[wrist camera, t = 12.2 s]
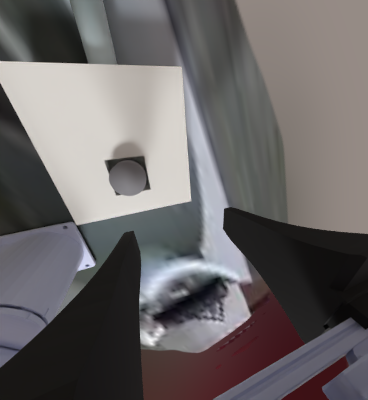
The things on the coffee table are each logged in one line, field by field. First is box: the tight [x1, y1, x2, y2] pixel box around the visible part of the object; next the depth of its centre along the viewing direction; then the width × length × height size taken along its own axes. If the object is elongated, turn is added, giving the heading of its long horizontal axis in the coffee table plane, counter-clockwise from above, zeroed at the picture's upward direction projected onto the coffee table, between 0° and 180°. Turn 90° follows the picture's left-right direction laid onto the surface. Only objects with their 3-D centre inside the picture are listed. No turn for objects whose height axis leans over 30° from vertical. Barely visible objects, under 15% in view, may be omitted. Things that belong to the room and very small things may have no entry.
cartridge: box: [70, 0, 117, 65], centre depth 9 cm, size 14×3×5 cm, turn 4°
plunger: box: [109, 159, 146, 196], centre depth 12 cm, size 3×3×2 cm
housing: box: [0, 61, 191, 225], centre depth 14 cm, size 12×12×4 cm
